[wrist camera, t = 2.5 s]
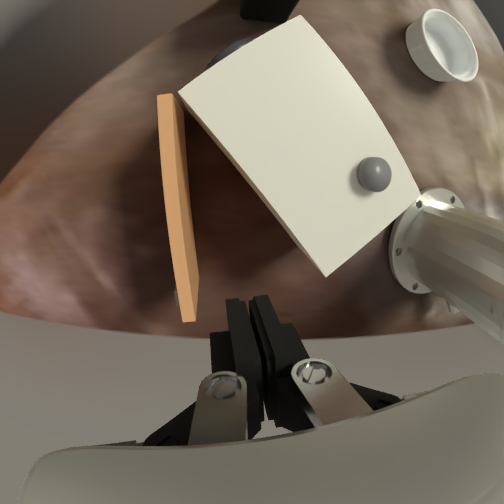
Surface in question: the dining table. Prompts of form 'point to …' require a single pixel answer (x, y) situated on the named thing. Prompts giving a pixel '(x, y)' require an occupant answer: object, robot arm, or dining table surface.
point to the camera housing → (303, 140)
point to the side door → (178, 204)
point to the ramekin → (442, 47)
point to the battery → (267, 10)
